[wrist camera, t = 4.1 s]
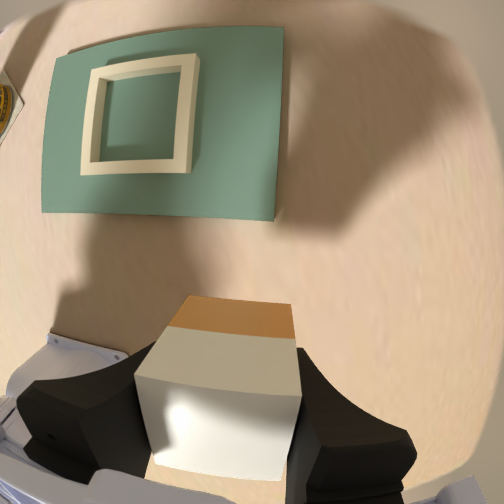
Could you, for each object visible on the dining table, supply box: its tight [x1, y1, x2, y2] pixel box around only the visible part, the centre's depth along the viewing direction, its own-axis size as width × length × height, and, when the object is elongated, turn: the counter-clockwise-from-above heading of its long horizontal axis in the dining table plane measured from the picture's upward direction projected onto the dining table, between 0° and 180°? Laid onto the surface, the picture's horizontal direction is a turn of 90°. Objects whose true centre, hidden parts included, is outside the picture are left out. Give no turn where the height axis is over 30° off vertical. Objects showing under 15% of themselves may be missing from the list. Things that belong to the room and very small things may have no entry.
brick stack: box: [134, 295, 302, 481], centre depth 10 cm, size 4×4×6 cm
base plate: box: [41, 26, 284, 222], centre depth 17 cm, size 18×13×2 cm
